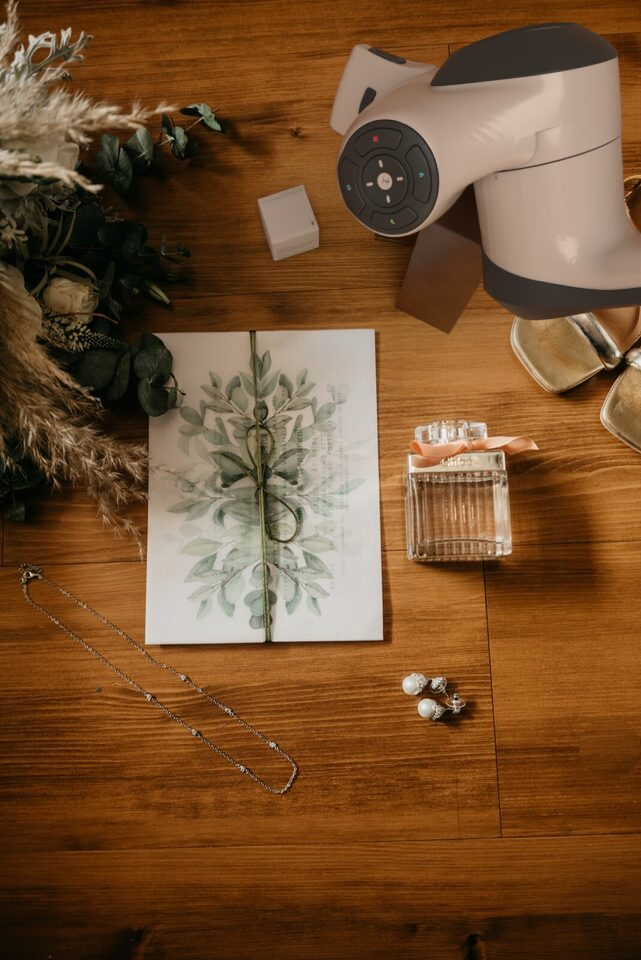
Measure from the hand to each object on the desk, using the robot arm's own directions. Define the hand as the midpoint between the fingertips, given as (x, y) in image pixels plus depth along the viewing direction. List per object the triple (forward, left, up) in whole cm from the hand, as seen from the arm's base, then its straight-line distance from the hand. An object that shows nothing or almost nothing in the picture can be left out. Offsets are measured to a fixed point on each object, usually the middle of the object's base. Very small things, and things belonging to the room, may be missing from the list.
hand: (466, 104), depth 67 cm
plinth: (-2, +12, -17) cm, 21 cm away
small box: (+16, +8, -18) cm, 25 cm away
